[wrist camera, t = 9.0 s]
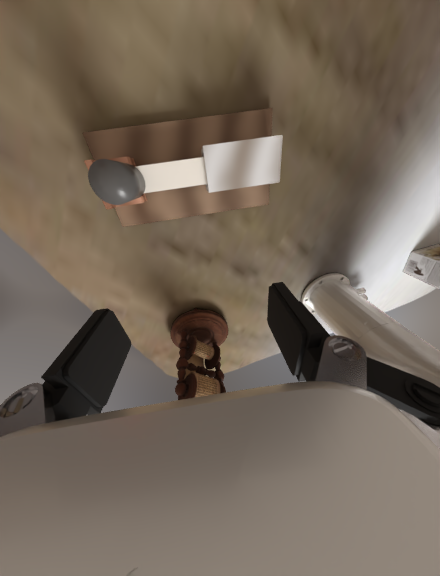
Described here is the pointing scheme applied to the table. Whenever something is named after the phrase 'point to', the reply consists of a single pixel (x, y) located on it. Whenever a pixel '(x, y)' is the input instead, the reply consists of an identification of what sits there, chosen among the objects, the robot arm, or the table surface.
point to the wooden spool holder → (199, 353)
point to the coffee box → (425, 265)
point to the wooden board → (194, 144)
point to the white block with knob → (143, 178)
